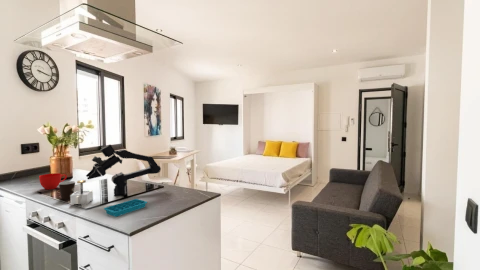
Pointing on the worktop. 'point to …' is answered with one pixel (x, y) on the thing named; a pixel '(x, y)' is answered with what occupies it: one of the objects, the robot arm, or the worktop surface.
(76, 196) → the press body
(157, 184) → the worktop surface
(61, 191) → the coffee mug
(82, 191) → the plunger
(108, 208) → the ice cube tray
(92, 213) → the worktop surface
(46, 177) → the ceramic cup
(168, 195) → the worktop surface
